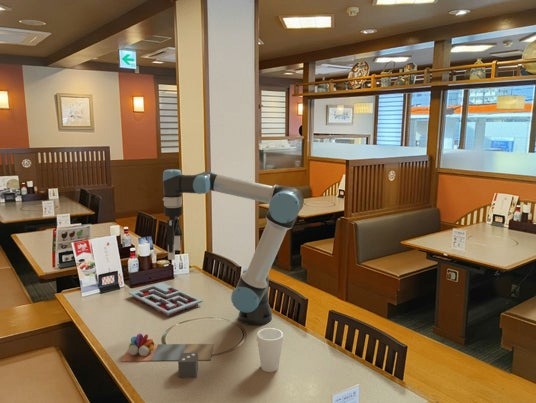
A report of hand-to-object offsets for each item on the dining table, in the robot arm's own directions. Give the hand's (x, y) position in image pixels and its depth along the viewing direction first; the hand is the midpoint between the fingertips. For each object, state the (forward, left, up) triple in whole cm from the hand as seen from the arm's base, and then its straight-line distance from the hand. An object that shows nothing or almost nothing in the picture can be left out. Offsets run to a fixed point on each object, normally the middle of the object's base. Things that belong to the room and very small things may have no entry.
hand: (174, 254), depth 186 cm
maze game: (+10, -24, -32) cm, 42 cm away
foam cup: (-40, +36, -32) cm, 63 cm away
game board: (-2, +25, -32) cm, 40 cm away
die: (-11, +39, -32) cm, 51 cm away
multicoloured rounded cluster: (+9, +25, -32) cm, 41 cm away
